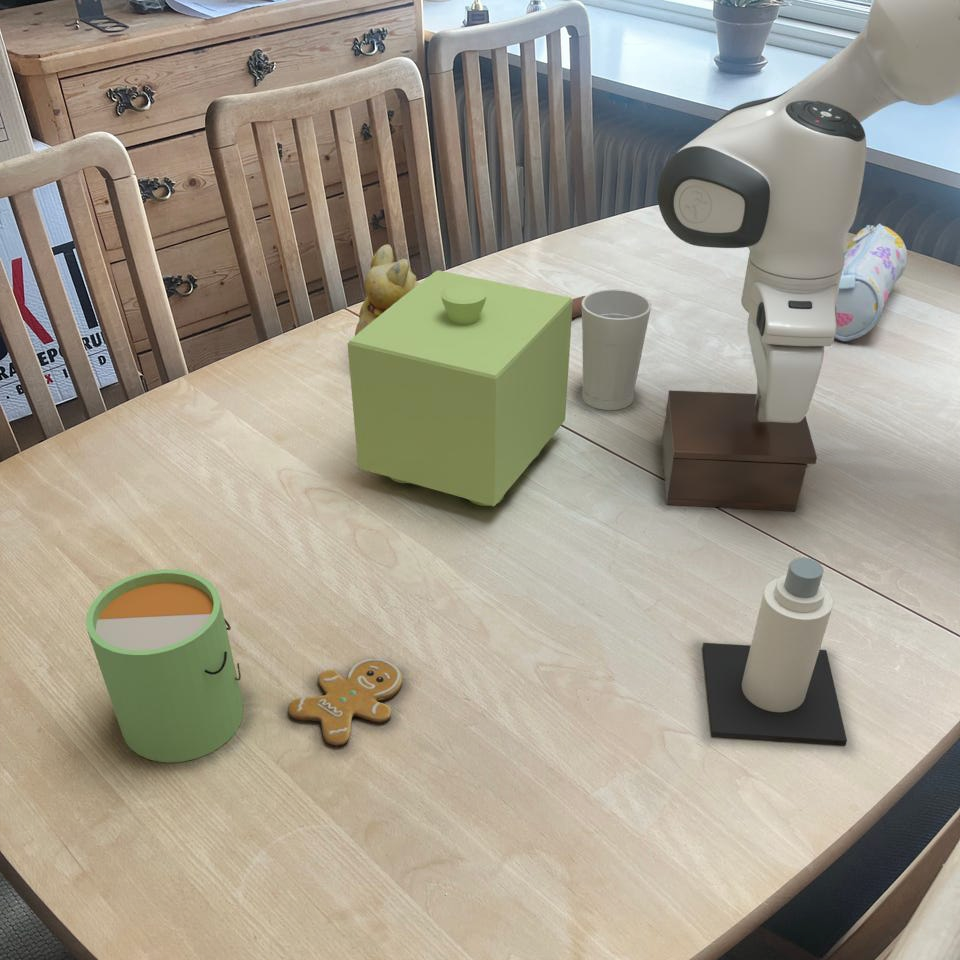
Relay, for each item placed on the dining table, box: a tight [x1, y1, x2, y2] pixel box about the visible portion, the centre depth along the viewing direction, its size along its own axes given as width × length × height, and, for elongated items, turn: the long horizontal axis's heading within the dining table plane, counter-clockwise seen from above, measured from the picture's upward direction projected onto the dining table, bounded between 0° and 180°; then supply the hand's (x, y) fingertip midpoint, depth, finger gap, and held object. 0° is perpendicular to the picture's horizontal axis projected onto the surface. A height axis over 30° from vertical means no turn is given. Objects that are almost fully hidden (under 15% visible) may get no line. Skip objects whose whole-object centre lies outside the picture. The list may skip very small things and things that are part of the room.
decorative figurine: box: [354, 243, 420, 336], centre depth 129 cm, size 10×8×15 cm
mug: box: [85, 568, 244, 763], centre depth 86 cm, size 13×10×12 cm
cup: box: [581, 288, 652, 411], centre depth 124 cm, size 8×8×12 cm
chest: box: [661, 399, 808, 512], centre depth 114 cm, size 14×13×6 cm
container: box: [347, 269, 573, 507], centre depth 111 cm, size 19×16×20 cm
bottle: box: [742, 557, 834, 712], centre depth 86 cm, size 5×5×14 cm
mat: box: [702, 642, 848, 746], centre depth 91 cm, size 11×11×1 cm
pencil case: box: [834, 223, 908, 342], centre depth 142 cm, size 21×9×10 cm, turn 154°
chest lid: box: [667, 390, 818, 465], centre depth 112 cm, size 14×13×1 cm
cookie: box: [287, 658, 403, 746], centre depth 90 cm, size 8×1×10 cm
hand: (764, 415), depth 111 cm, fingers closed
